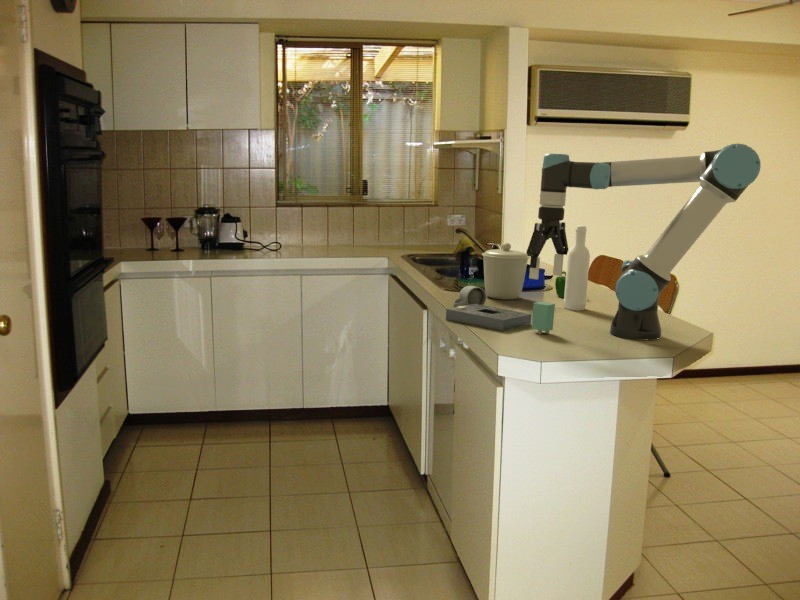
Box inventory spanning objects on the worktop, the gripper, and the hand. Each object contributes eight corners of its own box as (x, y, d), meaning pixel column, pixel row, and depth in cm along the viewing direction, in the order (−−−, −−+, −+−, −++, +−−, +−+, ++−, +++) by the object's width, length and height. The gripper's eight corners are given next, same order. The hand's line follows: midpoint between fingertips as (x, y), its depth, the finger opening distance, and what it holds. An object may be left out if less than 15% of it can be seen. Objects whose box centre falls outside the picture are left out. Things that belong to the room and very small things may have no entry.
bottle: (570, 311, 280) (578, 226, 274) (558, 306, 287) (565, 224, 282) (589, 310, 283) (597, 227, 277) (577, 306, 290) (584, 224, 285)
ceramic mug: (476, 304, 284) (476, 283, 283) (486, 308, 277) (487, 287, 275) (449, 305, 281) (450, 284, 279) (458, 309, 273) (459, 287, 272)
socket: (530, 324, 252) (531, 311, 251) (502, 331, 240) (503, 317, 239) (474, 313, 266) (475, 301, 265) (445, 319, 254) (446, 306, 253)
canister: (527, 295, 308) (531, 242, 305) (526, 303, 291) (530, 246, 287) (480, 292, 311) (484, 239, 308) (477, 299, 294) (480, 243, 290)
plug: (552, 333, 240) (554, 304, 238) (545, 335, 237) (548, 305, 235) (538, 330, 243) (540, 301, 242) (531, 332, 240) (533, 302, 239)
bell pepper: (579, 299, 306) (581, 273, 305) (560, 299, 304) (562, 273, 303) (570, 295, 314) (572, 270, 313) (551, 295, 312) (553, 270, 311)
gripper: (562, 205, 245) (556, 272, 249) (518, 205, 227) (512, 278, 230) (583, 207, 240) (577, 275, 244) (540, 207, 222) (534, 282, 225)
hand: (545, 277), depth 237 cm, fingers open, 13 cm apart
